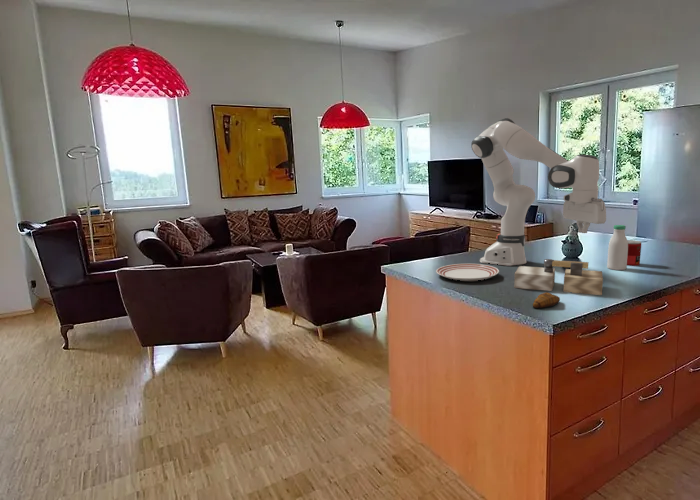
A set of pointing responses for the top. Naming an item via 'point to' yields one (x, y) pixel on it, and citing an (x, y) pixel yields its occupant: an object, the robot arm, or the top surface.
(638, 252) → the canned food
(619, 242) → the milk bottle
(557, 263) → the latch bar
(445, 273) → the dinner plate
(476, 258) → the top surface
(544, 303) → the croissant
